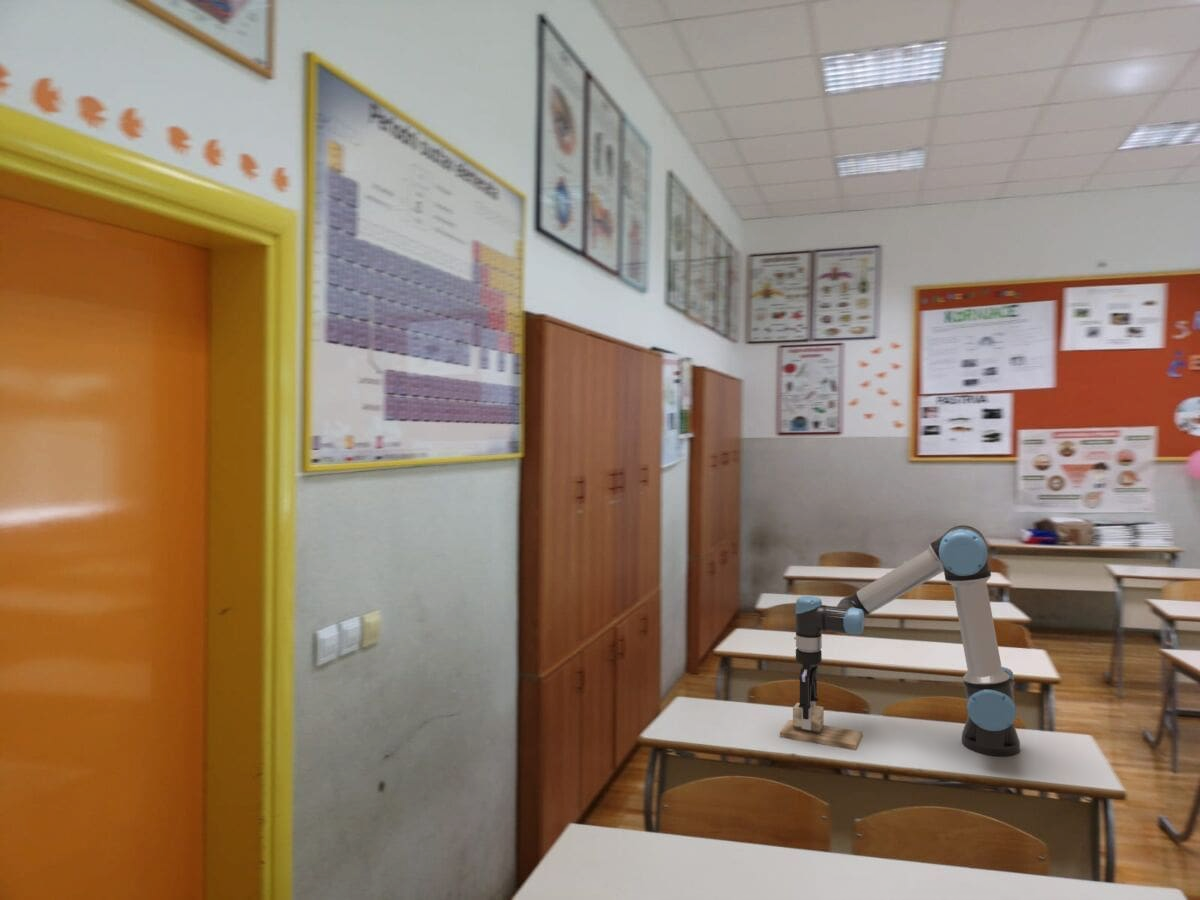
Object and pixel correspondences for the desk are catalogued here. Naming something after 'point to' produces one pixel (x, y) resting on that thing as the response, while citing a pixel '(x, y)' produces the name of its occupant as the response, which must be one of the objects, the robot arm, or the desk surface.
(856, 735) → the board
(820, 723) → the block
